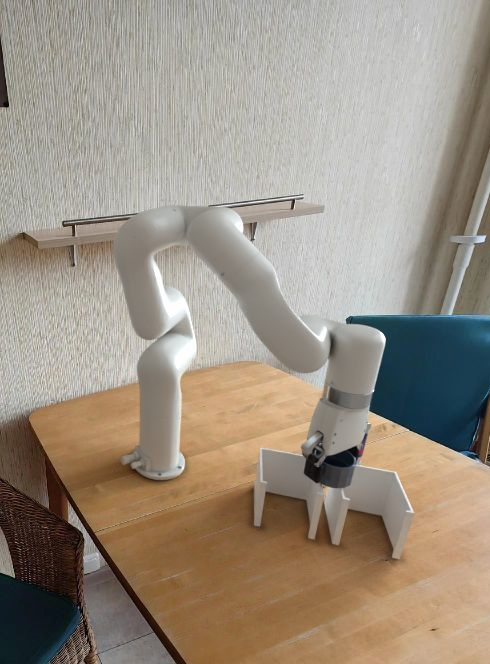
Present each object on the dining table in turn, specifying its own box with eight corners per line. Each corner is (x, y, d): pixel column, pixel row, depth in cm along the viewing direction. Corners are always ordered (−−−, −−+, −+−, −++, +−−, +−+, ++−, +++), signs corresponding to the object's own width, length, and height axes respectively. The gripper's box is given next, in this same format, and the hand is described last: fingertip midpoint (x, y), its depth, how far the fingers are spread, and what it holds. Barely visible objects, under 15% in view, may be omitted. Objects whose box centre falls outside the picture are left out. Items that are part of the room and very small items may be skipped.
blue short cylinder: (333, 495, 78) (338, 473, 76) (300, 470, 84) (304, 450, 82) (359, 483, 80) (365, 461, 79) (326, 460, 87) (331, 440, 85)
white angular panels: (383, 514, 87) (396, 471, 83) (399, 559, 77) (414, 513, 73) (254, 487, 95) (260, 447, 91) (254, 525, 85) (260, 481, 81)
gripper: (360, 374, 82) (343, 447, 88) (294, 394, 76) (280, 472, 82) (399, 391, 76) (378, 469, 82) (331, 416, 69) (313, 498, 75)
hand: (329, 470), depth 82 cm, fingers open, 9 cm apart
